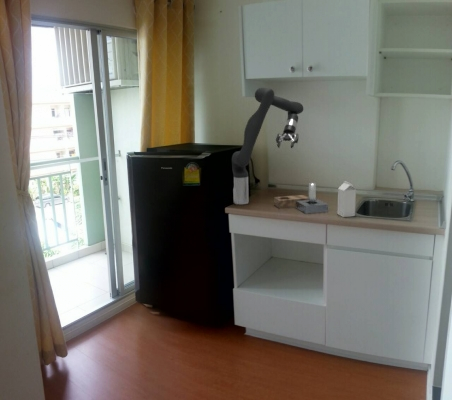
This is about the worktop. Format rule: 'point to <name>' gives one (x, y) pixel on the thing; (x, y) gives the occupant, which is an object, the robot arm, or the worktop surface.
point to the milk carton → (346, 200)
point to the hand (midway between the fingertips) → (284, 147)
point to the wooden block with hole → (288, 201)
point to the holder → (312, 206)
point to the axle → (312, 193)
